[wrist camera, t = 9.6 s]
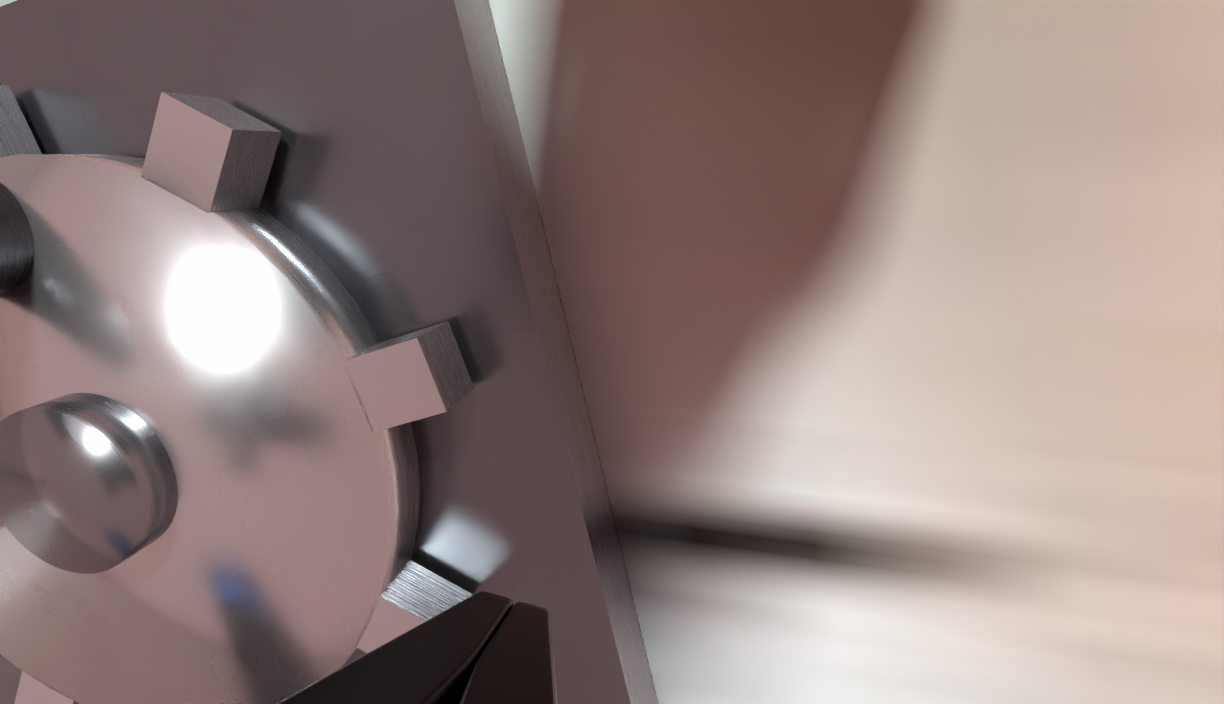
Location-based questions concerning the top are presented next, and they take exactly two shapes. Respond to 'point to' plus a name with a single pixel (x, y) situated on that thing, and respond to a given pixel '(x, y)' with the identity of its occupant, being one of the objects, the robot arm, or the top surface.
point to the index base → (390, 258)
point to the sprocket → (196, 429)
